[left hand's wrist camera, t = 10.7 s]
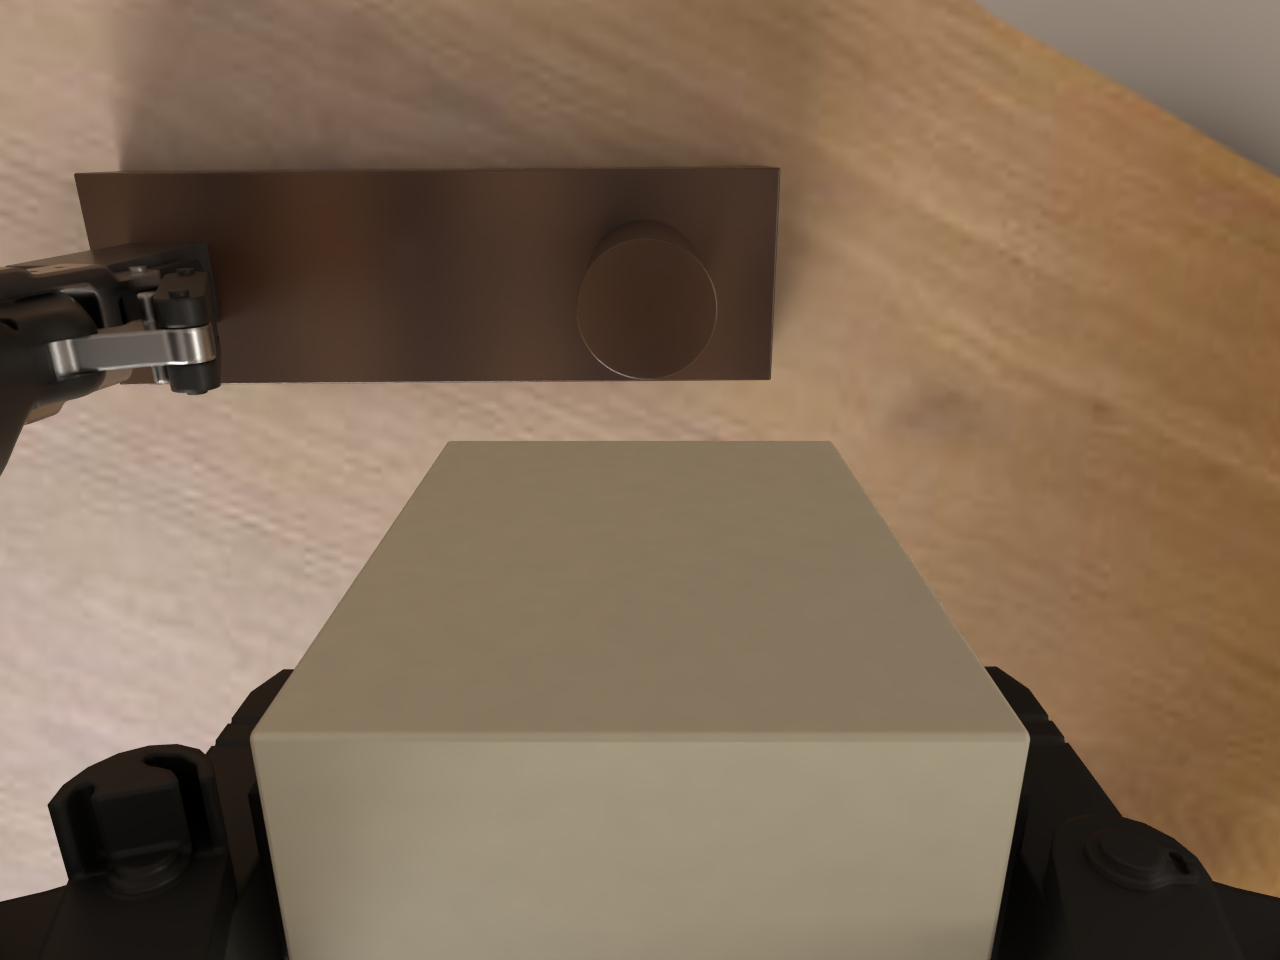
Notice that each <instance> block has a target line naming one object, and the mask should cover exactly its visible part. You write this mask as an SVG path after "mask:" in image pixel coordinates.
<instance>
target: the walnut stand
mask: <svg viewBox="0 0 1280 960" xmlns="http://www.w3.org/2000/svg"><path fill="white" fill-rule="evenodd" d="M74 177H75V181H76V186H77V190H78V195H79V200H80V204H81V209H82V213H83V218H84V222H85V227H86V231H87V236H88V240H89V245H90V251H84V252H79V253H74V254H68V255H63V256H57V257H52V258H47V259H41V260H36V261H30V262H25V263H19V264H14V265H9V266H6V267H20V268H24V269H31V268H37V267H44V266H50V265H57V264H103V265H105V266H107V267H108V268H109V269H110V270H111V271H112V273H115V272H121V271H128V270H129V268H128V267H131V266H147V267H151V266H155V265H159V264H163V263H167V262H172V261H176V260H197V261H199V262H200V263H201V265H202V267H203V270H204V272H210V275H211V281H212V287H213V293H214V298H215V304H216V310H217V313H216V315H215V317H216V323H217V328H218V334H219V335H218V336H219V340H220V346H221V384H313V383H442V382H571V381H701V380H770V379H771V362H772V340H773V318H774V296H775V275H776V253H777V231H778V209H779V187H780V168H776V167H769V166H753V167H624V168H495V169H365V170H236V171H116V172H93V173H75V174H74ZM54 292H58V291H54ZM119 307H120V312H121V317H122V322H123V325H124V324H127V321H126V317H125V312H124V307H123V302H122V298H120V300H119ZM120 384H121V385H170V383H165V384H158V383H156V382H154V377H153V372H152V368H151V366H150V367H138V368H133V370H132V374H131V376H130V377H129V378H128V379H127V380H126V381H124V382H121V383H120Z"/></svg>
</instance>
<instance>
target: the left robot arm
mask: <svg viewBox="0 0 1280 960" xmlns="http://www.w3.org/2000/svg"><path fill="white" fill-rule="evenodd" d="M984 668H985V669H986V671H987V672H988V674H989V675H990V677H991V678H992V680H993V681H994V682H995V684H996V685H997V687H998V688H999V690H1000V691H1001V693H1002V694H1003V696H1004V697H1005V699H1006V700H1007V702H1008V703H1009V705H1010V706H1011V708H1012V709H1013V711H1014V712H1015V714H1016V715H1017V716H1018V718H1019V719H1020V721H1021V722H1022V724H1023V725H1024V727H1025V728H1026V730H1027V731H1028V733H1029V736H1030V743H1029V749H1028V754H1027V760H1026V765H1025V771H1024V776H1023V782H1022V787H1021V793H1020V799H1019V804H1018V810H1017V815H1016V821H1015V826H1014V832H1013V837H1012V843H1011V849H1010V854H1009V860H1008V865H1007V871H1006V876H1005V882H1004V887H1003V893H1002V898H1001V904H1000V910H999V915H998V921H997V926H996V932H995V937H994V943H993V948H992V954H991V960H1280V898H1278V897H1273V896H1269V895H1265V894H1260V893H1256V892H1252V891H1247V890H1243V889H1239V888H1234V887H1231V886H1228V885H1224V884H1221V883H1218V882H1214V881H1212V879H1211V877H1210V876H1209V874H1208V873H1207V871H1206V870H1205V868H1204V867H1203V866H1202V864H1201V863H1200V861H1199V860H1198V858H1197V857H1196V856H1195V855H1193V854H1192V853H1191V852H1190V851H1188V850H1187V849H1186V848H1185V847H1184V846H1182V845H1181V844H1180V843H1179V842H1178V841H1176V840H1175V839H1174V838H1172V837H1170V836H1168V835H1166V834H1164V833H1162V832H1160V831H1158V830H1157V829H1155V828H1153V827H1151V826H1149V825H1147V824H1145V823H1141V822H1138V821H1134V820H1131V819H1127V818H1124V817H1122V815H1121V814H1120V813H1119V811H1118V810H1117V809H1116V807H1115V806H1114V804H1113V803H1112V802H1111V800H1110V799H1109V798H1108V796H1107V795H1106V794H1105V792H1104V791H1103V789H1102V788H1101V787H1100V785H1099V784H1098V783H1097V781H1096V780H1095V779H1094V777H1093V776H1092V774H1091V773H1090V772H1089V770H1088V769H1087V768H1086V766H1085V765H1084V764H1083V762H1082V761H1081V759H1080V758H1079V757H1078V755H1077V754H1076V753H1075V751H1074V750H1073V749H1072V747H1071V746H1070V744H1069V743H1065V741H1064V736H1063V735H1062V734H1061V732H1060V731H1059V729H1058V728H1057V727H1056V725H1055V724H1054V723H1053V721H1049V719H1048V714H1047V713H1046V712H1045V710H1044V709H1043V708H1042V706H1041V705H1040V703H1039V702H1038V701H1037V699H1036V698H1035V697H1034V695H1033V694H1032V693H1031V691H1030V690H1029V689H1028V688H1027V687H1025V686H1024V685H1022V684H1021V683H1019V682H1018V681H1017V680H1015V679H1014V678H1012V677H1011V676H1009V675H1008V674H1006V673H1005V672H1004V671H1002V670H1001V669H999V668H998V667H984ZM293 671H294V669H283V670H282V671H280V672H279V673H277V674H276V675H275V676H273V677H272V678H270V679H269V680H267V681H266V682H265V683H263V684H262V685H260V686H259V687H257V688H256V689H255V690H253V691H252V692H251V693H250V694H249V695H248V697H247V698H246V699H245V701H244V702H243V704H242V705H241V706H240V708H239V709H238V710H237V712H236V713H235V715H234V716H233V717H232V722H231V724H227V726H226V727H225V728H224V730H223V731H222V732H221V734H220V735H219V737H218V738H217V739H216V744H215V746H211V748H210V749H209V750H208V752H207V753H206V754H204V753H203V752H202V751H201V750H200V749H196V748H192V747H188V746H183V745H179V744H170V745H151V746H146V747H142V748H138V749H134V750H130V751H126V752H122V753H118V754H116V755H114V756H112V757H109V758H107V759H105V760H103V761H101V762H98V763H96V764H94V765H92V766H90V767H88V768H86V769H85V770H83V771H82V772H81V773H79V774H78V775H76V776H75V777H74V778H72V779H71V780H69V781H68V782H67V783H65V784H64V785H63V786H62V787H61V788H60V790H59V791H58V792H57V793H56V795H55V796H54V797H53V799H52V800H51V801H50V802H49V804H48V808H49V812H50V815H51V819H52V822H53V826H54V830H55V833H56V837H57V840H58V844H59V847H60V851H61V854H62V858H63V861H64V865H65V868H66V872H67V876H68V879H69V880H68V883H67V885H65V886H62V887H58V888H55V889H52V890H48V891H45V892H40V893H36V894H32V895H27V896H23V897H19V898H14V899H10V900H6V901H1V902H0V960H289V954H288V949H287V943H286V938H285V932H284V926H283V921H282V915H281V910H280V904H279V899H278V893H277V888H276V882H275V877H274V871H273V866H272V860H271V854H270V849H269V843H268V838H267V832H266V827H265V821H264V816H263V810H262V805H261V799H260V794H259V788H258V782H257V777H256V771H255V766H254V760H253V755H252V749H251V744H250V736H251V733H252V731H253V730H254V728H255V727H256V725H257V724H258V722H259V721H260V719H261V718H262V716H263V715H264V713H265V712H266V710H267V709H268V707H269V706H270V705H271V703H272V702H273V700H274V699H275V697H276V696H277V694H278V693H279V691H280V690H281V688H282V687H283V685H284V684H285V682H286V681H287V679H288V678H289V676H290V675H291V674H292V672H293Z"/></svg>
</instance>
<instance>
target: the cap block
mask: <svg viewBox="0 0 1280 960" xmlns="http://www.w3.org/2000/svg"><path fill="white" fill-rule="evenodd" d="M1029 743H1030V736H1029V733H1028V731H1027V730H1026V728H1025V727H1024V725H1023V724H1022V722H1021V721H1020V719H1019V718H1018V716H1017V715H1016V714H1015V712H1014V711H1013V709H1012V708H1011V706H1010V705H1009V703H1008V702H1007V700H1006V699H1005V697H1004V696H1003V694H1002V693H1001V691H1000V690H999V688H998V687H997V685H996V684H995V682H994V681H993V680H992V678H991V677H990V675H989V674H988V672H987V671H986V669H985V668H984V666H983V665H982V663H981V662H980V660H979V659H978V657H977V656H976V654H975V653H974V651H973V650H972V648H971V647H970V646H969V644H968V643H967V641H966V640H965V638H964V637H963V635H962V634H961V632H960V631H959V629H958V628H957V626H956V625H955V623H954V622H953V620H952V619H951V617H950V616H949V614H948V613H947V612H946V610H945V609H944V607H943V606H942V604H941V603H940V601H939V600H938V598H937V597H936V595H935V594H934V592H933V591H932V589H931V588H930V586H929V585H928V583H927V582H926V580H925V579H924V578H923V576H922V575H921V573H920V572H919V570H918V569H917V567H916V566H915V564H914V563H913V561H912V560H911V558H910V557H909V555H908V554H907V552H906V551H905V549H904V548H903V546H902V545H901V544H900V542H899V541H898V539H897V538H896V536H895V535H894V533H893V532H892V530H891V529H890V527H889V526H888V524H887V523H886V521H885V520H884V518H883V517H882V515H881V514H880V512H879V511H878V510H877V508H876V507H875V505H874V504H873V502H872V501H871V499H870V498H869V496H868V495H867V493H866V492H865V490H864V489H863V487H862V486H861V484H860V483H859V481H858V480H857V478H856V477H855V476H854V474H853V473H852V471H851V470H850V468H849V467H848V465H847V464H846V462H845V461H844V459H843V458H842V456H841V455H840V453H839V452H838V450H837V449H836V447H835V446H834V444H833V443H832V442H830V441H450V442H448V443H447V445H446V446H445V448H444V449H443V451H442V452H441V453H440V455H439V456H438V458H437V459H436V461H435V462H434V464H433V465H432V467H431V468H430V470H429V471H428V473H427V474H426V476H425V477H424V479H423V480H422V482H421V483H420V485H419V486H418V487H417V489H416V490H415V492H414V493H413V495H412V496H411V498H410V499H409V501H408V502H407V504H406V505H405V507H404V508H403V510H402V511H401V513H400V514H399V516H398V517H397V518H396V520H395V521H394V523H393V524H392V526H391V527H390V529H389V530H388V532H387V533H386V535H385V536H384V538H383V539H382V541H381V542H380V544H379V545H378V547H377V548H376V549H375V551H374V552H373V554H372V555H371V557H370V558H369V560H368V561H367V563H366V564H365V566H364V567H363V569H362V570H361V572H360V573H359V575H358V576H357V578H356V579H355V580H354V582H353V583H352V585H351V586H350V588H349V589H348V591H347V592H346V594H345V595H344V597H343V598H342V600H341V601H340V603H339V604H338V606H337V607H336V609H335V610H334V611H333V613H332V614H331V616H330V617H329V619H328V620H327V622H326V623H325V625H324V626H323V628H322V629H321V631H320V632H319V634H318V635H317V637H316V638H315V640H314V641H313V643H312V644H311V645H310V647H309V648H308V650H307V651H306V653H305V654H304V656H303V657H302V659H301V660H300V662H299V663H298V665H297V666H296V668H295V669H294V671H293V672H292V674H291V675H290V676H289V678H288V679H287V681H286V682H285V684H284V685H283V687H282V688H281V690H280V691H279V693H278V694H277V696H276V697H275V699H274V700H273V702H272V703H271V705H270V706H269V707H268V709H267V710H266V712H265V713H264V715H263V716H262V718H261V719H260V721H259V722H258V724H257V725H256V727H255V728H254V730H253V731H252V733H251V736H250V744H251V749H252V755H253V760H254V766H255V771H256V777H257V782H258V788H259V794H260V799H261V805H262V810H263V816H264V821H265V827H266V832H267V838H268V843H269V849H270V854H271V860H272V866H273V871H274V877H275V882H276V888H277V893H278V899H279V904H280V910H281V915H282V921H283V926H284V932H285V938H286V943H287V949H288V954H289V960H991V954H992V948H993V943H994V937H995V932H996V926H997V921H998V915H999V910H1000V904H1001V898H1002V893H1003V887H1004V882H1005V876H1006V871H1007V865H1008V860H1009V854H1010V849H1011V843H1012V837H1013V832H1014V826H1015V821H1016V815H1017V810H1018V804H1019V799H1020V793H1021V787H1022V782H1023V776H1024V771H1025V765H1026V760H1027V754H1028V749H1029Z"/></svg>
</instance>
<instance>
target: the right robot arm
mask: <svg viewBox="0 0 1280 960" xmlns="http://www.w3.org/2000/svg"><path fill="white" fill-rule="evenodd" d="M128 268H129V270H128V271H121V272H115V273H112V271H111V270H110V269H109V268H108V267H107V266H105V265H103V264H57V265H50V266H44V267H37V268H31V269H24V268H20V267H0V476H1V474H2V472H3V471H4V469H5V467H6V465H7V463H8V460H9V458H10V456H11V453H12V451H13V448H14V446H15V444H16V441H17V439H18V437H19V434H20V432H21V430H22V428H23V426H24V425H27V424H30V423H33V422H36V421H39V420H42V419H44V418H47V417H50V416H53V415H55V414H57V413H58V412H59V411H60V410H61V408H62V406H63V404H64V403H65V402H66V401H68V400H72V399H76V398H80V397H83V396H86V395H88V394H90V393H92V392H94V391H97V390H100V389H103V388H106V387H109V386H112V385H115V384H118V383H121V382H124V381H126V380H127V379H128V378H129V377H130V376H131V374H132V370H133V368H138V367H150V366H151V368H152V372H153V377H154V382H156V383H158V384H165V383H170V386H171V390H172V391H173V392H178V393H187V394H188V395H199V394H204V393H207V392H208V390H212V389H215V388H218V387H220V386H221V346H220V340H219V336H218V335H219V334H218V328H217V323H216V317H215V315H216V313H217V310H216V304H215V298H214V293H213V287H212V281H211V275H210V272H204V270H203V267H202V265H201V263H200V262H199V261H197V260H176V261H172V262H167V263H163V264H159V265H155V266H151V267H147V266H131V267H128ZM54 291H58V292H54ZM120 298H122V302H123V307H124V312H125V317H126V321H127V324H124V325H123V322H122V317H121V312H120V307H119V300H120Z"/></svg>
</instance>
